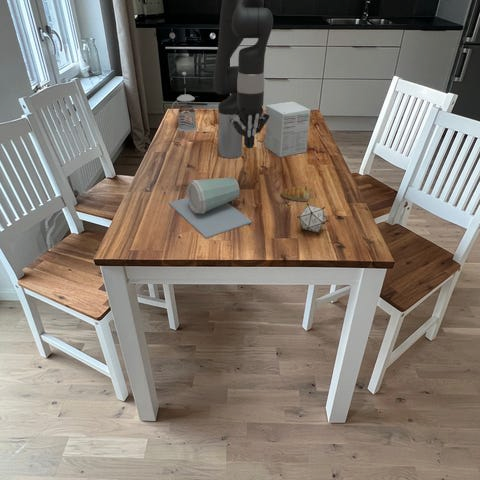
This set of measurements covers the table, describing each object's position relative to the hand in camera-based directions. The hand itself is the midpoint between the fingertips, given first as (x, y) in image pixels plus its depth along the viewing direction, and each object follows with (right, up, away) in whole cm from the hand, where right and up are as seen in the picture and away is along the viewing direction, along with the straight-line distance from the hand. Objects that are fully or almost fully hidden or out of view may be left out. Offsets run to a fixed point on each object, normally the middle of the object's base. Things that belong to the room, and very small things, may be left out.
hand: (249, 147), depth 126 cm
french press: (-28, +24, +67) cm, 76 cm away
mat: (-12, -20, +3) cm, 24 cm away
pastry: (+16, -14, +12) cm, 25 cm away
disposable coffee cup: (-4, -12, +5) cm, 13 cm away
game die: (+18, -26, -5) cm, 32 cm away
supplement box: (+16, +9, +47) cm, 51 cm away
